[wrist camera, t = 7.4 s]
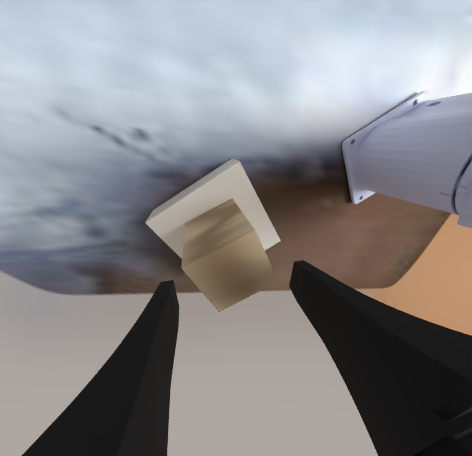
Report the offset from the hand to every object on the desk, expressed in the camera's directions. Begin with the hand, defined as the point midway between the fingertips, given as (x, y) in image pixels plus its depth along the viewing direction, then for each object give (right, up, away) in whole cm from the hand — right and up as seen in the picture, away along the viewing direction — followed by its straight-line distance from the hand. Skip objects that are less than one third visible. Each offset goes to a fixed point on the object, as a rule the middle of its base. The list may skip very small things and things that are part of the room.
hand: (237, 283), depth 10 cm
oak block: (-2, +3, +5) cm, 6 cm away
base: (-2, +4, +8) cm, 9 cm away
